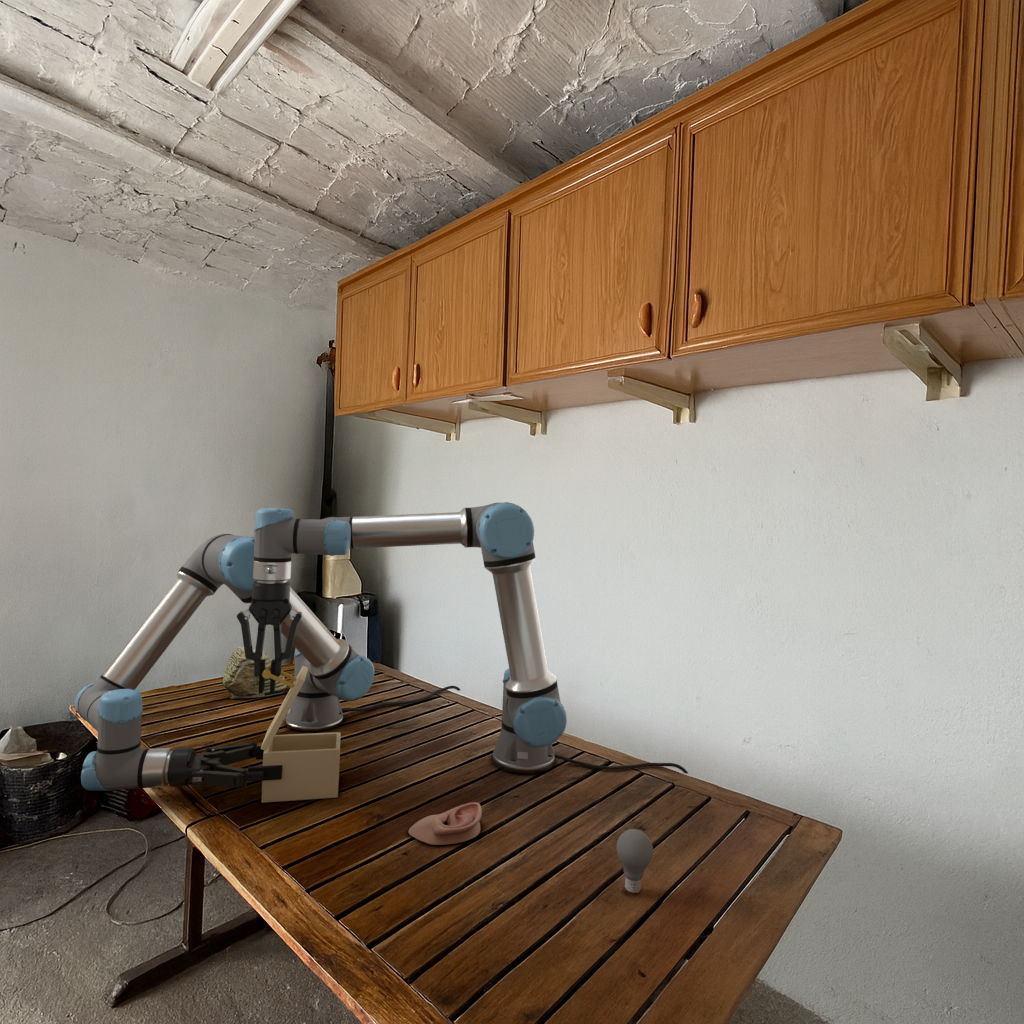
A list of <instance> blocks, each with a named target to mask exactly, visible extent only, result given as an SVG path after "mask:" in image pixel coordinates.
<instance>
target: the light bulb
mask: <svg viewBox="0 0 1024 1024" xmlns="http://www.w3.org/2000/svg"><path fill="white" fill-rule="evenodd" d="M615 849H616V854H617V857H618V859H619V861H620V863H621V865H622V867H623V873H624V874H623V875H624V876H625V878H624V888H625V890H627V891H628V892H630V893H634V894H635V893H639V892H640V891H641V889H642V887H641V886H642V879H643V877H644V875H645V871H646V868H647V867H648V866H649V864H650V863H651V861H652V859H653V855H654V847H653V843H652V841H651V838H649V836H648V835H647V834H646V833H645V832H643V831H642V830H641V829H636V828H629V829H627V830H625V831H623V832H622V833H621V834H620V835H619V837H618V839H617V841H616V847H615Z"/></svg>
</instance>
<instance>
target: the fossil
mask: <svg viewBox="0 0 1024 1024" xmlns="http://www.w3.org/2000/svg"><path fill="white" fill-rule="evenodd" d="M255 650H256V648H253V652H254V653H255ZM262 659H266V660H265V668H266V666H267V665H268V664H271V662H272V660H273V659H272V658H271V657H270V656H269V655H268V654H267V653H266V652H265V650H264V649H263V653H262ZM222 676H223V677H222V685H223V687H224V688H225V690H226V691H228V693H229V698H230V699H250V698H264V697H271V696H275V695H281V694H284V693H285V691H286V689H287V687H288V686H287V685H285V684H282V683H280V682H278V681H276V682H275V691H274V693H270V678H269V677H268V678H265V683H264V691H263V693H259V677H255V676H254V661H253V660H251V659H246V657H245V651H244V646H238V647H237V648H236V649H235V650H233V651H232V653H231V656H230V657H229V659H228V660H227V663H226V666H225V668H224V671H223V675H222ZM277 677H279V678H282V679H284V680H286V677H284V676H282V675H280V676H277Z"/></svg>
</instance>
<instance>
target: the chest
mask: <svg viewBox="0 0 1024 1024" xmlns="http://www.w3.org/2000/svg"><path fill="white" fill-rule="evenodd" d="M341 737H342V735H341V732H340V731H335V732H310V733H293V734H292V733H290V734H275V736H274V738H273V740H272V742H271V744H270V745H269V747H268V749H267V751H265V750H264V753H263V759H262V766H273V765H282V779H281V780H264V781H261V803H276V802H290V801H306V800H319V799H320V800H321V799H334V798H339V781H340V763H341V760H340V759H341Z"/></svg>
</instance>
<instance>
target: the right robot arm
mask: <svg viewBox="0 0 1024 1024" xmlns="http://www.w3.org/2000/svg"><path fill="white" fill-rule="evenodd" d="M253 531H254V537H255V538H254V564H253V579H254V580H256V581H255V582H254V583H253V585H252V602H251V603H249V606H248V608H247V609H245V610H243V611H241V610H240V611H239V612H238V613H237V615H236V619H237V620H238V622H239V624H240V629H241V635H242V643H243V647H244V651H245V657H246V659H251V660H253V661H254V676H255V677H259V693H263V691H264V683H265V678H264V677H263V676H262V674H263V672H264V670H265V660H266V659H262V653H263V650H264V644H265V636H266V628H267V626H269V625H270V626H272V628H273V644H274V647H273V648H274V658H273V659H272V662H271V674H273V675H275V676H280V674H281V671H282V666H283V665H282V664H283V663H282V662H283V661H284V660H286V659H290V658H291V655H292V651H293V647H294V646H293V642H294V638H295V633H296V629H297V624H298V622H299V620H300V619H301V617H302V612H297V611H296V610H294V609H292V606H291V604H290V587H291V583H290V580H291V578H292V576H291V575H292V555H293V554H295V555H300V554H301V555H316V556H317V555H319V556H330V557H335V556H345V555H348V553H350V550H352V549H372V548H373V549H374V548H375V549H376V548H396V547H398V548H399V547H417V546H419V547H420V546H435V545H436V546H439V545H441V546H442V545H462V546H463V547H464V548H479V549H480V550H481V555H482V561H483V565H484V567H483V568H484V569H486V570H487V571H488V572H489V573H491V574H492V578H493V584H494V590H495V596H496V601H497V608H498V613H499V619H500V625H501V630H502V636H503V641H504V646H505V654H506V658H507V664H508V669H506V670H505V671H504V673H503V680H502V683H503V687H502V688H503V689H502V708H501V709H502V710H501V728H500V732H499V734H498V737H497V740H496V743H495V745H494V748H493V751H492V762H493V764H494V765H495V766H496V767H497V768H499V769H501V770H504V771H506V772H510V773H514V774H521V775H534V774H540V773H545V772H547V771H549V770H551V769H552V768H553V767H554V766H555V760H556V759H559V760H562V761H565V762H568V763H571V764H574V765H578V766H582V767H586V768H589V769H596V770H603V771H604V770H605V771H606V770H607V771H617V770H630V769H639V768H646V767H672V768H676V769H679V770H680V771H681V772H683V773H684V774H687V775H688V774H689V772H688V770H687V769H686V768H685V767H683V766H682V765H680V764H678V763H673V762H642V763H636V764H625V765H614V766H613V765H611V766H610V765H598V764H592V763H587V762H583V761H579V760H576V759H571V758H569V757H567V756H563V755H559V754H556V753H555V751H554V747H553V744H555V743H556V742H557V741H558V740H559V739H560V738H561V737H562V736H563V734H564V733H565V730H566V727H567V720H568V719H567V718H568V717H567V712H566V709H565V707H564V705H563V704H562V702H561V699H560V698H561V697H560V692H559V686H558V680H557V676H556V675H555V674H554V673H552V672H551V671H550V670H549V668H548V662H547V655H546V650H545V643H544V639H543V633H542V626H541V620H540V615H539V610H538V604H537V597H536V592H535V586H534V581H533V574H532V569H531V568H532V565H533V563H534V562H535V561H536V559H537V558H536V551H535V545H534V539H535V538H534V537H535V526H534V522H533V519H532V517H531V516H530V515H529V513H528V512H527V511H526V510H525V509H524V508H523V507H522V506H520V505H518V504H516V503H513V502H507V501H506V502H493V503H490V504H486V505H480V506H473V507H463V508H462V509H461V510H460V511H455V512H435V513H434V512H431V513H410V514H409V513H407V514H388V515H386V514H385V515H363V516H362V515H361V516H342V517H341V516H340V517H339V516H338V517H337V516H328V517H324V518H321V519H319V518H318V519H317V518H316V519H314V518H313V519H310V518H309V519H308V518H298V517H295V515H294V510H293V509H291V508H279V507H261V508H258V510H257V511H256V515H255V525H254V528H253ZM288 614H290V615H291V616H290V620H292V623H291V626H290V631H289V635H288V639H286V640H287V641H286V645H285V650H284V651H283V642H282V641H283V640H282V639H283V638H282V633H281V623H282V621H283V620H284V619H285V618H286V616H287V615H288ZM251 616H252V617H253V618H254V620H255V621H256V622H257V624H258V625H257V633H256V634H257V636H256V641H255V642H256V643H255V649H256V650H255V653H254V652H253V649H254V648H253V642H252V641H253V640H252V633H251V627H250V619H251ZM275 682H276V680H273V679H271V678H270V693H274V691H275Z"/></svg>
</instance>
